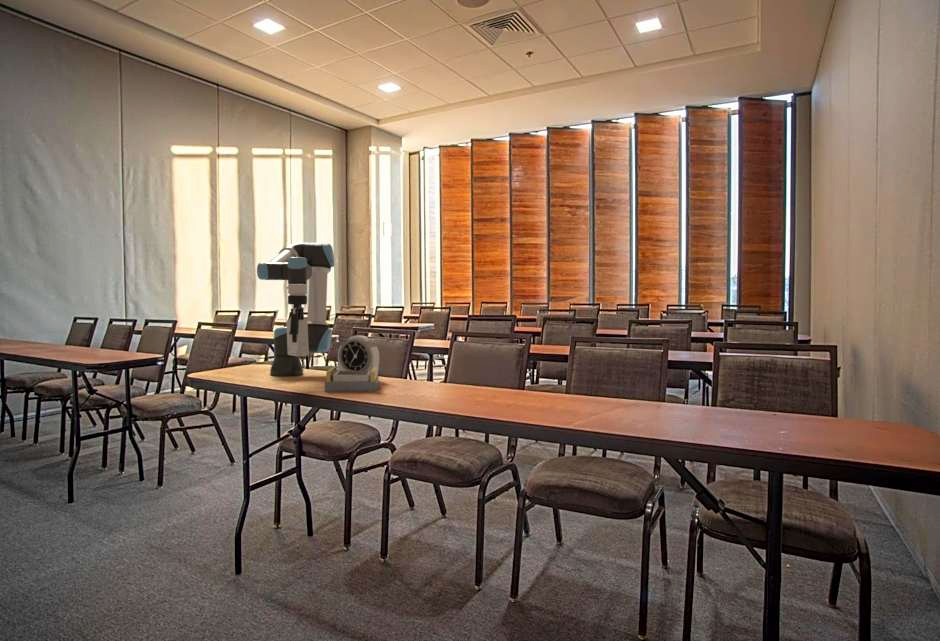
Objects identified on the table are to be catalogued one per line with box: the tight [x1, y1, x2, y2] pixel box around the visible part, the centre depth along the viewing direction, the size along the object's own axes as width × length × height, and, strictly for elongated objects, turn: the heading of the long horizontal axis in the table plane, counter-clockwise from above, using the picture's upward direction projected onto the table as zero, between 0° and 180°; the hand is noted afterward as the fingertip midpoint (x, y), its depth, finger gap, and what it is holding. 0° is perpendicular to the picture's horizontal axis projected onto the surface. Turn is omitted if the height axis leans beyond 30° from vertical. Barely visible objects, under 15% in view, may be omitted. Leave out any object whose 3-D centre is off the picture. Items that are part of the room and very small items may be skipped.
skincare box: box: [285, 319, 310, 357], centre depth 235 cm, size 8×6×15 cm
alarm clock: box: [337, 335, 380, 375], centre depth 258 cm, size 18×8×20 cm, turn 73°
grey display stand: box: [324, 366, 379, 393], centre depth 235 cm, size 16×20×9 cm
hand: (297, 348), depth 235 cm, fingers closed on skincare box, 10 cm apart
